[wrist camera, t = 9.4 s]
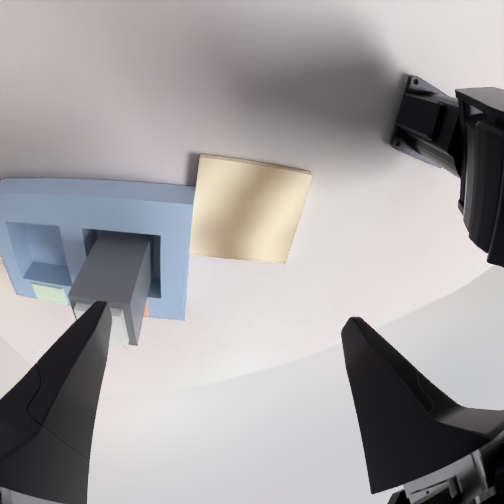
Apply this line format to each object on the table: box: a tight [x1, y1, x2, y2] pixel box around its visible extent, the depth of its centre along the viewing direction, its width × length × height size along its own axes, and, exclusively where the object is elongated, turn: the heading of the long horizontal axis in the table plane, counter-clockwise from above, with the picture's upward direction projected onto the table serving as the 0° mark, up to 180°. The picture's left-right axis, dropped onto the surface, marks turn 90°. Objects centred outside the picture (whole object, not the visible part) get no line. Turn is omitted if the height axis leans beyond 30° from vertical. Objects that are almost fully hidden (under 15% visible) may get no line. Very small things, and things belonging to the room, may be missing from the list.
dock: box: [0, 178, 196, 321], centre depth 19 cm, size 18×11×3 cm, turn 79°
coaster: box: [189, 154, 313, 264], centre depth 21 cm, size 8×8×1 cm
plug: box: [68, 230, 154, 348], centre depth 18 cm, size 4×4×9 cm
